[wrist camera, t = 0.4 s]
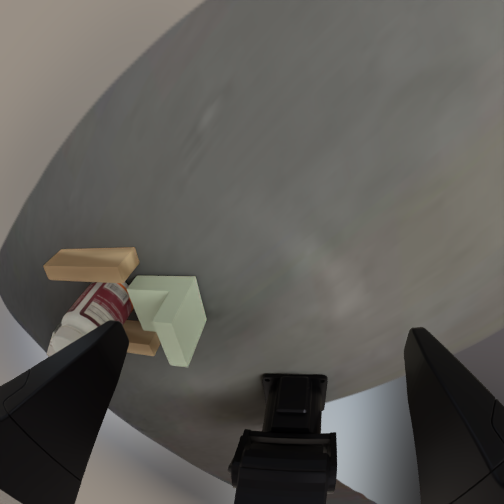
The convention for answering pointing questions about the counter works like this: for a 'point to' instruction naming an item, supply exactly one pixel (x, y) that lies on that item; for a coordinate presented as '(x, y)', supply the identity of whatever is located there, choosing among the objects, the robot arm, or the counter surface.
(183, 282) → the block
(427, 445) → the robot arm
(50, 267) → the channel
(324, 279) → the counter surface
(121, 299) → the pill bottle
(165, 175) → the counter surface
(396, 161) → the counter surface
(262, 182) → the counter surface
